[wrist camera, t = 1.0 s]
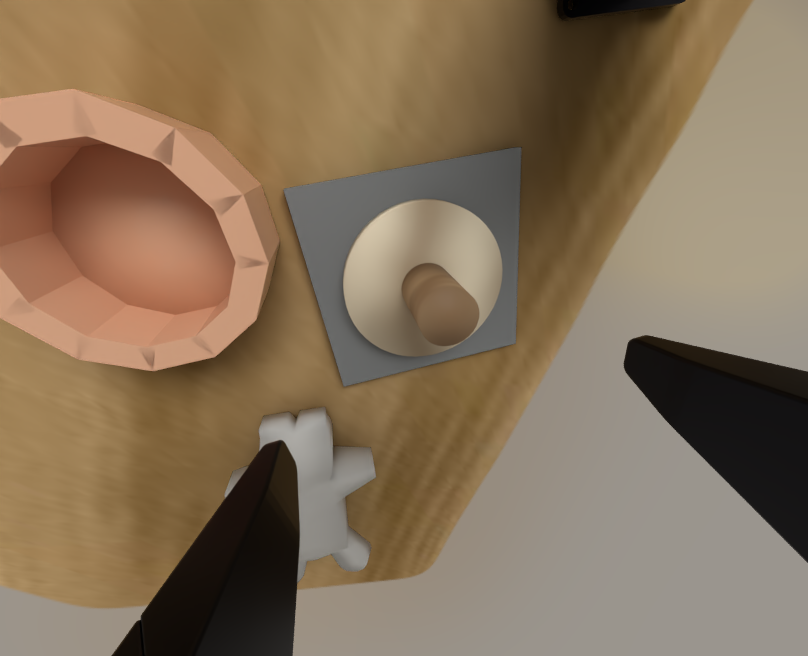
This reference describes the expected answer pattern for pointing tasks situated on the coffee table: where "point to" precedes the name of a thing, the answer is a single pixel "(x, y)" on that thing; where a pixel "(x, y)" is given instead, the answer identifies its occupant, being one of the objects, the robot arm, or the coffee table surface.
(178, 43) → the coffee table surface
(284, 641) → the robot arm
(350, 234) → the mat
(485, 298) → the lid
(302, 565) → the grey toy figurine
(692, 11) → the coffee table surface
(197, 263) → the bowl
